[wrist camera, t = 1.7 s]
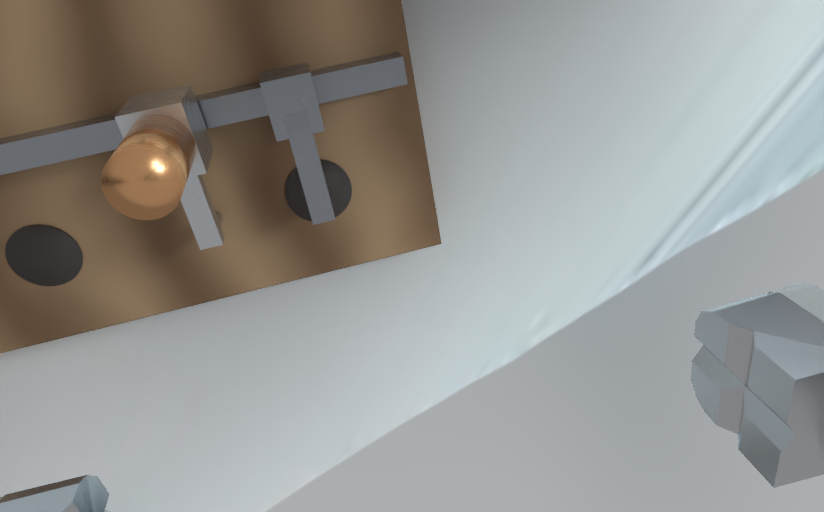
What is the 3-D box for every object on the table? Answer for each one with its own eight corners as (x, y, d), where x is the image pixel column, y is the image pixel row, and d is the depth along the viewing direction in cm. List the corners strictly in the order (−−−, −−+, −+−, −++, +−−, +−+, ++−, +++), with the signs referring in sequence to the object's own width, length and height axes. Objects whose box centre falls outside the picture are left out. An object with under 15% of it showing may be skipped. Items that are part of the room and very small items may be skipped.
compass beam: (395, 37, 27) (409, 50, 24) (419, 173, 30) (434, 198, 27) (-177, 161, 25) (-233, 190, 22) (-85, 293, 28) (-124, 333, 25)
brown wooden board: (376, -101, 26) (384, -103, 24) (432, 227, 34) (441, 244, 32) (-245, 21, 24) (-288, 29, 22) (-30, 341, 32) (-48, 366, 30)
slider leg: (194, 77, 26) (163, 135, 19) (242, 218, 29) (232, 312, 22) (137, 89, 26) (84, 153, 19) (192, 230, 29) (166, 328, 22)
